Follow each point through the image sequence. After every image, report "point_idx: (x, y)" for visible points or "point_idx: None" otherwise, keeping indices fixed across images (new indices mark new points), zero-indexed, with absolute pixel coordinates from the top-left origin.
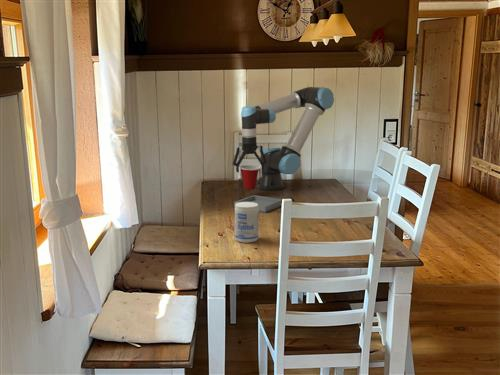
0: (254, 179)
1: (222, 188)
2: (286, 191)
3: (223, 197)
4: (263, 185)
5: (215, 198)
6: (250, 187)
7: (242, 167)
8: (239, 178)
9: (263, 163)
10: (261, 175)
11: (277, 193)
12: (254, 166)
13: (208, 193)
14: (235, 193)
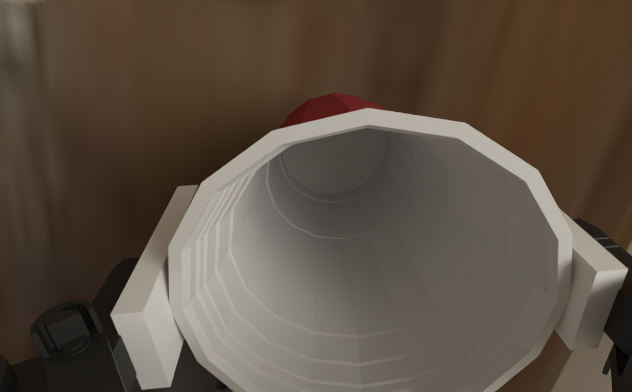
0: (292, 124)
1: None
2: (22, 260)
3: (540, 143)
4: None
5: (614, 119)
6: (340, 96)
7: (464, 364)
8: None
9: (45, 348)
10: (176, 199)
11: (90, 211)
12: (262, 387)
13: None
14: None
